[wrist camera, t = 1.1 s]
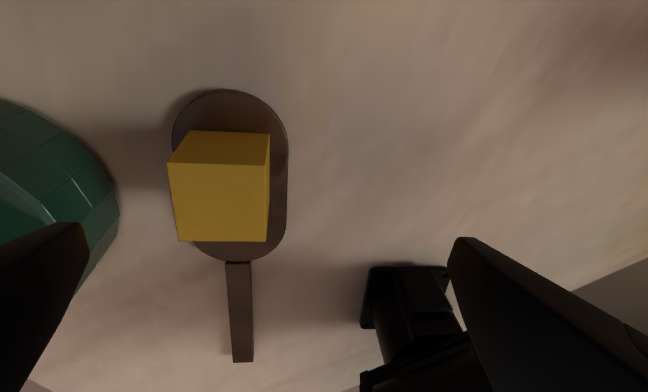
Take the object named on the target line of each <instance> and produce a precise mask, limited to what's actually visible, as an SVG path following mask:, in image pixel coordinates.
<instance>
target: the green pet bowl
mask: <svg viewBox="0 0 648 392" xmlns="http://www.w3.org/2000/svg"><path fill="white" fill-rule="evenodd" d="M112 186H113V185H112V184H111V182H110V181H109V179H108V177H107V176H106V174H105V173H104V171H103V170H102V168H101V167H100V165H99V163H98V162H97V160H96V159H95V158H94V157H93V156H92V155H91V154H90V153H89V152H88V151H87V150H86V149H85V148H84V147H83V146H81V145H80V144H79V143H78V142H77V141H76V140H75V139H74V138H73V137H72V136H71V135H69V134H68V133H67V132H65V131H64V130H62V129H61V128H59V127H57V126H55V125H54V124H52V123H50V122H48V121H47V120H45V119H43V118H41V117H40V116H38V115H36V114H35V113H33V112H31V111H29V110H27V109H25V108H22V107H18V106H15V105H12V104H9V103H6V102H2V101H0V245H1V244H3V243H6V242H8V241H11V240H13V239H16V238H18V237H21V236H23V235H25V234H28V233H30V232H33V231H35V230H38V229H40V228H43V227H45V226H48V225H50V224H53V223H55V222H58V221H70V222H79V223H80V224H81V225H82V226H83V229H84V232H85V236H86V239H87V243H88V246H89V250H90V258H89V261H88V264H87V266H86V268H85V270H84V273H83V275H82V277H81V279H80V281H79V284H78V286H77V288H76V290H75V292H74V295H73V297H74V296H75V294H76V293H77V292H78V290H79V289H80V287H81V286H82V285H83V283H84V282H85V280H86V279H87V278H88V276H89V275H90V273H91V272H92V271H93V269H94V268H95V266H96V265H97V264H98V262H99V261H100V259H101V258H102V257H103V255H104V254H105V252H106V251H107V249H108V248H109V246H110V245H111V244H112V242H113V241H114V239H115V238H116V235H117V229H118V223H119V216H120V213H119V208H118V204H117V200H116V196H115V192H114V188H113V187H112ZM73 297H72V299H73ZM72 299H71V300H72Z"/></svg>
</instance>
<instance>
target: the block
mask: <svg viewBox="0 0 648 392" xmlns="http://www.w3.org/2000/svg"><path fill="white" fill-rule="evenodd" d="M166 166H167V172H168V178H169V184H170V190H171V196H172V203H173V209H174V215H175V221H176V227H177V233H178V240H179V241H249V242H265V241H266V234H267V222H268V211H269V188H270V134H265V133H243V132H220V131H198V130H190V131H189V132H188V134H187V135H186V136H185V138H184V139H183V140H182V142H181V143H180V144H179V146H178V147H177V149H176V150H175V151H174V153H173V154H172V155H171V157H170V158H169V159H168V161H167V162H166Z"/></svg>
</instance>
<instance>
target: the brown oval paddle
mask: <svg viewBox="0 0 648 392" xmlns="http://www.w3.org/2000/svg"><path fill="white" fill-rule="evenodd" d="M190 130H198V131H220V132H243V133H265V134H270V188H269V211H268V222H267V234H266V241H265V242H249V241H192V242H193V243H194V244H195V245H196V246H197V247H198V248H199V249H200V250H201V251H203V252H204V253H206V254H208V255H210V256H212V257H214V258H217V259H220V260H224V261H226V263H225V269H226V282H227V294H228V306H229V318H230V331H231V343H232V355H233V363H242V362H253V359H254V342H253V311H252V281H251V260H255V259H258V258H261V257H263V256H265V255H267V254H268V253H270V252H271V251H272V250H273V249H275V248H276V246H277V245H278V244H279V243H280V241H281V240H282V238H283V236H284V233H285V229H286V212H287V180H288V139H287V134H286V131H285V128H284V126H283V124H282V122H281V120H280V119H279V117H278V115H277V114H276V113H275V112H274V111H273V110H272V109H271V108H270V107H269V106H268V105H267V104H266V103H264V102H263V101H261V100H260V99H258V98H256V97H254V96H253V95H250V94H247V93H245V92H241V91H236V90H216V91H211V92H208V93H205V94H202V95H200V96H198V97H197V98H195V99H194V100H192V101H191V102H190V103H189V104H188V105H186V107H185V108H184V109H183V110H182V111H181V112H180V114H179V116H178V117H177V119H176V121H175V124H174V127H173V131H172V149H173V153H174V151H175V150H176V149H177V147H178V146H179V144H180V143H181V142H182V140H183V139H184V138H185V136H186V135H187V134H188V132H189V131H190Z"/></svg>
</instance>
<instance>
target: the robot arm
mask: <svg viewBox="0 0 648 392" xmlns="http://www.w3.org/2000/svg"><path fill="white" fill-rule="evenodd" d="M89 258H90V250H89V246H88V243H87V239H86V236H85V232H84V229H83V226H82V225H81V224H80V223H79V222H70V221H58V222H55V223H53V224H50V225H48V226H45V227H43V228H40V229H38V230H35V231H33V232H30V233H28V234H25V235H23V236H21V237H18V238H16V239H13V240H11V241H8V242H6V243H3V244H1V245H0V392H19V391H20V390H21V388H22V386H23V385H24V383H25V381H26V380H27V378H28V376H29V375H30V373H31V371H32V370H33V368H34V366H35V365H36V363H37V361H38V360H39V358H40V356H41V355H42V353H43V351H44V350H45V348H46V346H47V344H48V343H49V341H50V339H51V338H52V336H53V334H54V333H55V331H56V329H57V327H58V326H59V324H60V322H61V320H62V318H63V316H64V314H65V312H66V310H67V308H68V306H69V303H70V301H71V299H72V297H73V295H74V292H75V290H76V288H77V286H78V284H79V281H80V279H81V277H82V275H83V273H84V270H85V268H86V266H87V264H88V261H89ZM444 273H445V274H444ZM374 274H377V275H374ZM450 280H451V283H452V286H453V289H454V293H455V296H456V299H457V302H458V305H459V309H460V312H461V315H462V318H463V321H464V323H465V326H466V328H467V331H465V332H463V330H462V328H461V326H460V324H459V322H458V320H457V319H456V317H455V315H454V313H453V308H452V306H451V304H450V303H449V301H448V299H447V297H446V295H445V292H446V289H447V286H448V283H449V281H450ZM360 326H361V328H362V329H375V330H376V334H377V337H378V341H379V345H380V349H381V352H382V356H383V360H384V363H385V365H382V366H380V367H377V368H375V369H373V370H370V371H367V370H366V371H364V372H362V373H360V386H359V387H360V388H359V389H360V392H648V336H647V335H645V334H643V333H642V332H640V331H638V330H636V329H635V328H633V327H631V326H629V325H628V324H626V323H622V322H621V321H620V320H619V319H617V318H615V317H613V316H612V315H610V314H608V313H606V312H605V311H603V310H601V309H599V308H597V307H596V306H594V305H592V304H590V303H589V302H587V301H585V300H583V299H582V298H580V297H578V296H576V295H575V294H573V293H571V292H569V291H568V290H566V289H564V288H562V287H561V286H559V285H557V284H555V283H553V282H552V281H550V280H548V279H546V278H545V277H543V276H541V275H539V274H538V273H536V272H534V271H532V270H531V269H529V268H527V267H525V266H524V265H522V264H520V263H518V262H516V261H515V260H513V259H511V258H509V257H508V256H506V255H504V254H502V253H501V252H499V251H497V250H495V249H494V248H492V247H490V246H488V245H487V244H485V243H483V242H481V241H479V240H478V239H476V238H473V237H458V238H457V239H456V240H455V242H454V245H453V248H452V250H451V253H450V256H449V259H448V262H447V267H376V268H372V269H371V270H370V271H369V275H368V280H367V285H366V291H365V296H364V301H363V306H362V311H361V317H360Z"/></svg>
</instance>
